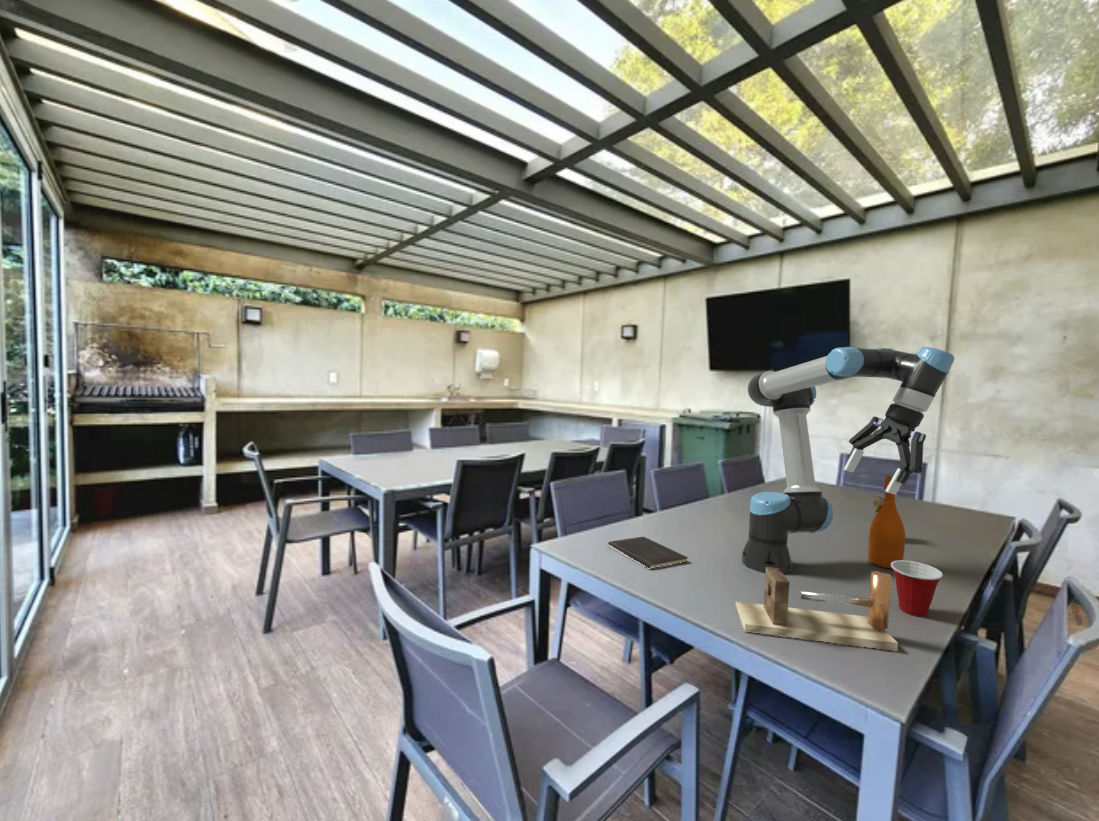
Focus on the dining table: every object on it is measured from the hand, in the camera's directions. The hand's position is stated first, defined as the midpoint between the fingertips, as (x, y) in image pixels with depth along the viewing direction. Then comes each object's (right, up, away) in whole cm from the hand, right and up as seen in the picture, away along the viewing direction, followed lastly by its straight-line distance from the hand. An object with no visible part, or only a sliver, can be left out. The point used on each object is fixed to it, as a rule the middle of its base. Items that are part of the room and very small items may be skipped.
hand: (868, 481), depth 124 cm
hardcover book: (-51, -31, +36) cm, 70 cm away
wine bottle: (+29, -33, +34) cm, 56 cm away
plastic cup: (+12, -35, 0) cm, 37 cm away
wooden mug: (+47, -33, +61) cm, 84 cm away
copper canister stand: (-21, -34, -11) cm, 42 cm away
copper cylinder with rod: (-14, -31, -12) cm, 37 cm away
